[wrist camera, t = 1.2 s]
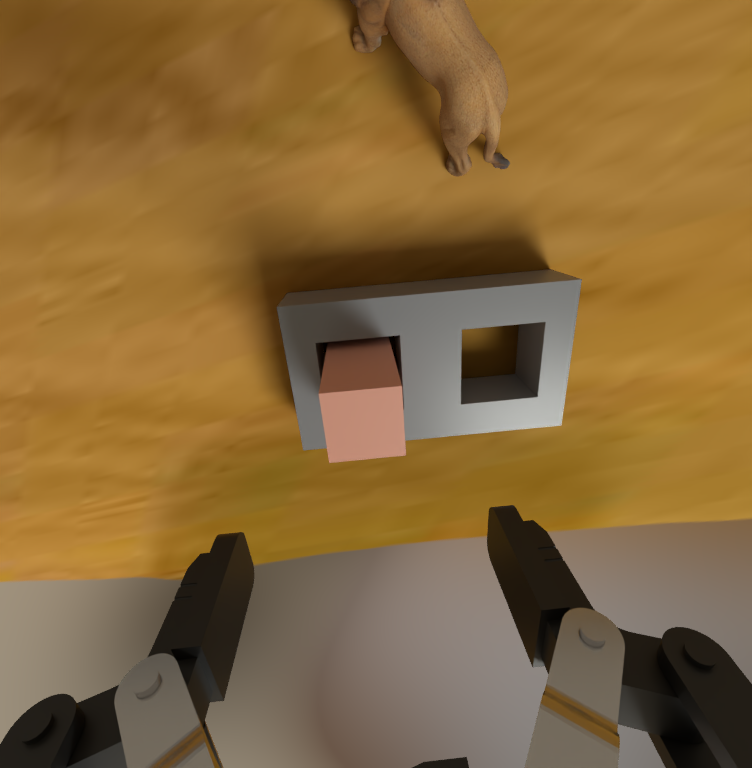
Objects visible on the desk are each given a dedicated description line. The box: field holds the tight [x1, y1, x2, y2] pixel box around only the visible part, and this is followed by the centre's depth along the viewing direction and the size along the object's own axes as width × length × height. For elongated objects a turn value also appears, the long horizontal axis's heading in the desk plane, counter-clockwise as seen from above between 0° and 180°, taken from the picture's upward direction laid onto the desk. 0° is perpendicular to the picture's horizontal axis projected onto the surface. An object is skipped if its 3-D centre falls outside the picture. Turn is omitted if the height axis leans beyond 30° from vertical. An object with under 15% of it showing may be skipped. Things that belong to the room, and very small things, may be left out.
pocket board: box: [277, 269, 582, 450], centre depth 27 cm, size 18×10×4 cm, turn 94°
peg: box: [319, 336, 406, 463], centre depth 24 cm, size 4×4×10 cm
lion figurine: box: [350, 0, 510, 176], centre depth 18 cm, size 15×5×9 cm, turn 51°
